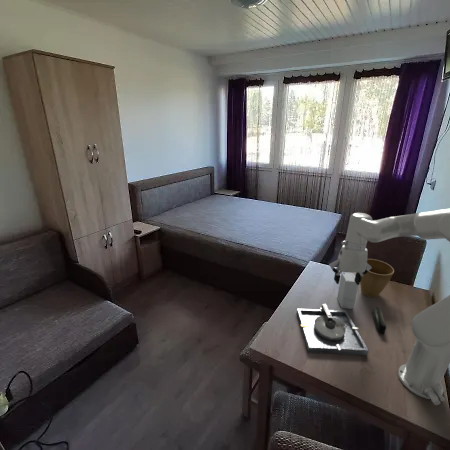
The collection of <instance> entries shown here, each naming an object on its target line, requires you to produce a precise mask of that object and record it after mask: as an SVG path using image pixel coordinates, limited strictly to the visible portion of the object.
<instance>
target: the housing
mask: <svg viewBox="0 0 450 450" xmlns="http://www.w3.org/2000/svg"><path fill="white" fill-rule="evenodd" d="M329 311H330V313H331V315H332V317H334V318H336V319H338V320H339V321H341V322H342V323H343V325H344V326H345V329H346V331H345V335H344V337H343V338H342V339H341V340H336V341H333V340H328V339H325V338H323V337H322V336H320V335H319V334H318V333H317V332H316V331H315V329H314V323H315V319H316V318H317V317H319V316H323V314H322V311H321V307H320V309H318V308H317V309H316V308H315V309H314V308H313V309H312V308H296V315H297V320H298V323H299V326H300V330H301V333H302V337H303V339H304V343H305V346H306V349H307V352H308V353H311V354H312V353H313V354H330V355H347V356H348V355H351V356H368V354H369V351H370V350H369V348H368V347H367V345H366V343H365V341H364V339H363V338H362V336H361V335H360V332H359V331H358V330H360V329H359V327H357V326H356V324H354V322H353V320H352V319H351V317H350V316H349V313H348V311H347V310H338V309H337V310H336V309H335V310H334V309H329Z"/></svg>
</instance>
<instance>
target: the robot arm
mask: <svg viewBox="0 0 450 450" xmlns="http://www.w3.org/2000/svg"><path fill="white" fill-rule="evenodd" d="M413 236H415V237H418V238H420V239H421V240H425V241H427V240H441V239H445V240H446V241H448V242H449V243H450V207H448V208H442V209H436V210H428V211H421V212H415V213H411V214H409V213H408V214H404V215H397V216H396V215H395V216H389V217H385V218H380V219H374V220H373V217H372V216H371V215H369V214H367V213H364V212H354V213H352V214H351V215H350V217H349V221H348V225H347V231H346V235H345V239H344V240H341V245H342V246H341V248H340V250H339V253H338V256H337V260H334V261H333V262H331V263H329V264H328V265H329V267H330V268H331V270H332V272H333V273H334V277H333V280H334V282H335V283H336V285H340V279H341V275H340V274H341V273H354V274H355V280H354V281H355V282H356V284H357V285H358V286H359V285H360V282H361V278H362V277H363V276H364V274H366V273H367V272H368V271H369V270H370V269H371V268H372V267H371V266H370V265H369V264H368V263H367V259H368V255H369V254H368V253H369V252H368V248H367V244H368V242H370V243H380V242H383V241H386V240H390V239H393V238H400V237H413ZM410 327H411V332H412V334H413V335H414V337H415V338H416V339H415V342H414V344H413V346H412V349H411V352H410V355H409V357H408V360H407V361H406V363H405V364H401V365H400V366H399V368H398V371H397V375H398V378H399V380H400V382H401V383H402V385H404V387H405V388H407V390H409V391H410V392H412V393H413V394H415V395H416V396H418V397H421V398H423V399H426V400H430V399H431V400H430V401H431V402H432V404H434V405H435V406H440V405H441V402H445V400H446V398H445V397H444V396H443V394H444V386H443V385H442V383H441V382H442V381H443V379H444V376H445V374H446V372H447V370H448V367H449V365H450V294H449V295H448V296H446V297H443V299H441V300H439V301H438V302H435V303H434V304H432V305H430V306H428V307H426V308H425V309H424V310H422V311H420V312H418V313H417V314H415V315H414V316H413V318H412V320H411V322H410Z"/></svg>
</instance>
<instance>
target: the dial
mask: <svg viewBox="0 0 450 450" xmlns="http://www.w3.org/2000/svg"><path fill="white" fill-rule="evenodd" d="M320 308H321V309H320V310H321V311H322V314H323V316H319V317H317V318H316V319H315V323H314V329H315V331H316V332H317V333H318V334H319V335H320V336H322V337H323V338H325V339H328V340H333V341H336V340H341V339H342V338H343V337H344V335H345V331H346V329H345V326H344V325H343V323H342V322H341V321H339V320H338V319H336V318H334V317H332V315H331V313H330V311H329V310H330V309H329V307H328V305H327V303H322V304H321V307H320Z"/></svg>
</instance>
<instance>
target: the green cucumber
mask: <svg viewBox="0 0 450 450" xmlns="http://www.w3.org/2000/svg"><path fill="white" fill-rule="evenodd" d="M371 313H372V319H373V321H374V322H373V323H374V326H375V329H376V332H377V333H378V334H380V335H383V336H384V335H385V333H386V329H387V325H386V323H385V319H384V316H383V310H382V309H381V308H380V307H379V306H374V308H373V309H372V310H371Z"/></svg>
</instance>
